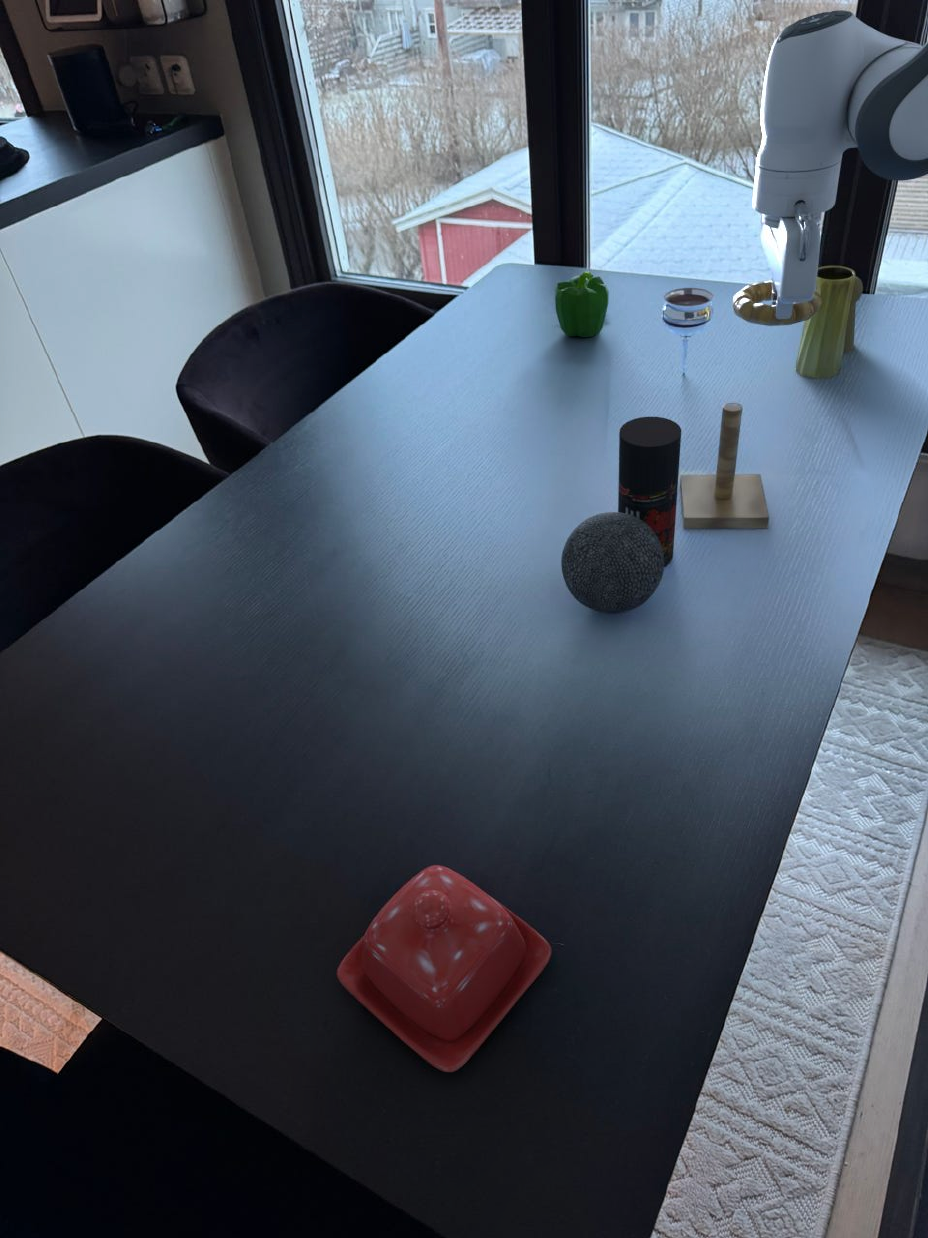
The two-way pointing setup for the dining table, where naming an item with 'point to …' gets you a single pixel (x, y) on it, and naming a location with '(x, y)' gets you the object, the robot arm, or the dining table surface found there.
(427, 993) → the butter dish
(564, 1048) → the dining table surface
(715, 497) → the post
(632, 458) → the deodorant
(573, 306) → the bell pepper
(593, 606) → the decorative ball
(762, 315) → the ring
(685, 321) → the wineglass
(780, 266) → the robot arm
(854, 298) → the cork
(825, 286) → the vase
